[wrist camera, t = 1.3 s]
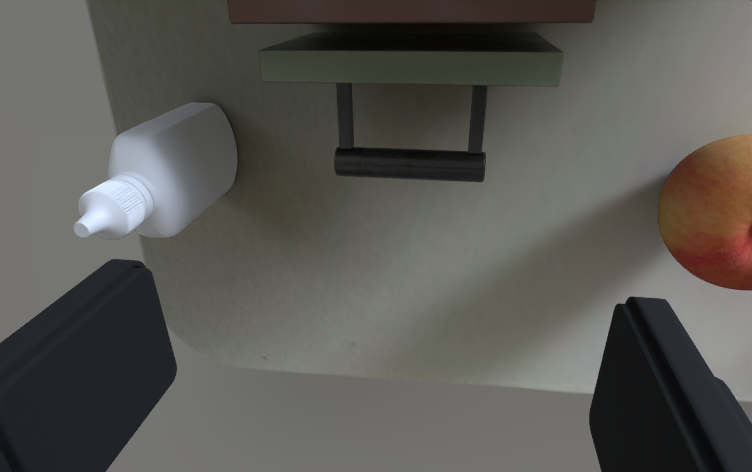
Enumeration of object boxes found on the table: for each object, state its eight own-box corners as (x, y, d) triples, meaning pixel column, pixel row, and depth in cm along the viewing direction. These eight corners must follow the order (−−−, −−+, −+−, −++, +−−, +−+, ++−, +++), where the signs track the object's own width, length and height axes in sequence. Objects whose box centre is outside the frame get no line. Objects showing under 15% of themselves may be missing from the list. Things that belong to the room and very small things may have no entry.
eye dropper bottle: (169, 164, 32) (23, 254, 21) (193, 88, 29) (41, 147, 19) (229, 197, 32) (115, 301, 22) (259, 125, 30) (145, 203, 19)
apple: (646, 119, 26) (713, 169, 19) (804, 110, 25) (940, 162, 18) (628, 241, 29) (679, 323, 22) (767, 240, 28) (868, 327, 21)
